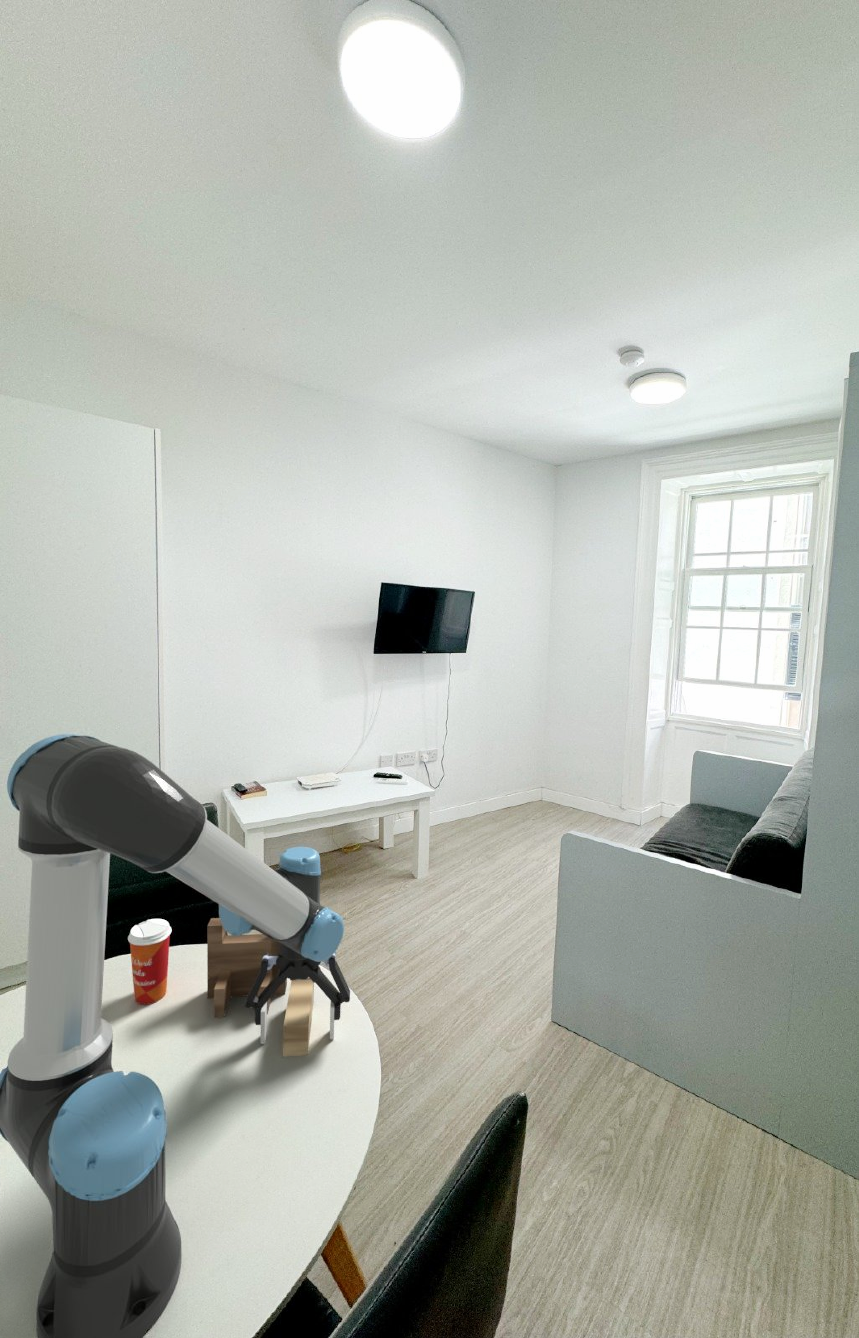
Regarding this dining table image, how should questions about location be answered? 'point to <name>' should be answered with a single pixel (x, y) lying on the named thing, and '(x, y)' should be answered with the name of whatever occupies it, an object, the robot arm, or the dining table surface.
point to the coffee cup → (150, 959)
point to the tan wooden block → (298, 1018)
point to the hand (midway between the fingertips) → (298, 1036)
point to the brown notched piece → (236, 965)
